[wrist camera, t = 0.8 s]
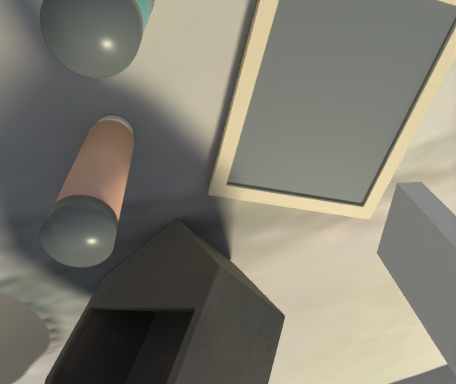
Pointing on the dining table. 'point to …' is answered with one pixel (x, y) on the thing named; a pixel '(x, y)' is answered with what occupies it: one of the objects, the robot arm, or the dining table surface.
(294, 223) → the dining table surface
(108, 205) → the coral marker
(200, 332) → the planter
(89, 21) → the teal marker
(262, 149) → the slate board
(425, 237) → the robot arm
